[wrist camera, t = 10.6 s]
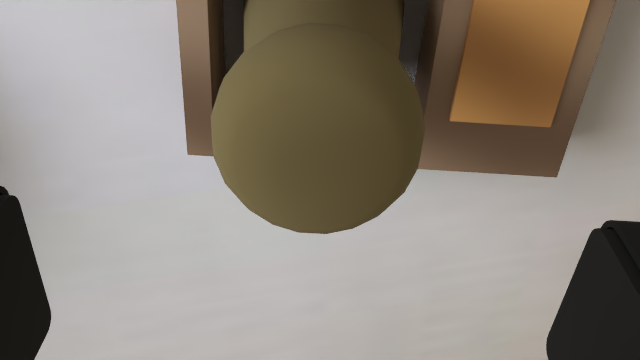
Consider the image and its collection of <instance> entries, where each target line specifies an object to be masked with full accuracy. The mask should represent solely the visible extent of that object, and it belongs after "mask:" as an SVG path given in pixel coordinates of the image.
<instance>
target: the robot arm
mask: <svg viewBox="0 0 640 360" xmlns="http://www.w3.org/2000/svg"><path fill="white" fill-rule="evenodd" d="M50 322H51V311H50V307H49V303H48V300H47V296H46V293H45V289H44V286H43V282H42V279H41V275H40V272H39V268H38V265H37V261H36V258H35V255H34V251H33V248H32V244H31V241H30V237H29V234H28V230H27V227H26V223H25V220H24V216H23V213H22V210H21V206H20V203H19V200H18V199H17V198H16V196H13V195H9V193H8V191H7V190H6V189H5V188H4V187H2V186H0V360H34V359H35V357H36V355H37V353H38V351H39V349H40V347H41V345H42V343H43V341H44V339H45V337H46V335H47V333H48V330H49V327H50ZM546 350H547V356H548V359H549V360H640V222H632V221H614V220H610V221H606V222H605V223H604V224H603V225H602V227H601V228H597V229H594V230H593V231H592V232H591V234H590V236H589V238H588V240H587V243H586V245H585V248H584V250H583V252H582V255H581V257H580V260H579V262H578V264H577V267H576V269H575V272H574V274H573V277H572V279H571V281H570V284H569V286H568V289H567V291H566V293H565V296H564V298H563V301H562V303H561V305H560V308H559V310H558V313H557V315H556V318H555V320H554V322H553V325H552V327H551V330H550V332H549V334H548V337H547V344H546Z"/></svg>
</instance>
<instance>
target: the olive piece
mask: <svg viewBox="0 0 640 360" xmlns="http://www.w3.org/2000/svg"><path fill="white" fill-rule="evenodd" d="M403 13H404V0H244V52H243V53H242V55H241V56H240V57H239V58H238V60H237V61H236V62H235V64H234V65H233V66H232V67H231V69H230V70H229V71H228V73H227V74H226V75H225V77H224V78H223V81H222V83H221V86H220V88H219V91H218V95H217V98H216V101H215V104H214V107H213V111H212V114H211V131H212V147H213V154H214V159H215V161H216V163H217V166H218V168H219V170H220V173H221V175H222V177H223V179H224V182H225V184H226V185H227V186H228V187H229V188H230V189H231V190H232V192H233V193H234V194H235V195H236V196H237V197H238V198H239V199H240V201H241V202H242V203H243V204H244V205H245V206H246V207H247V208H248V209H249V210H250V211H252V212H254V213H255V214H257V215H258V216H260V217H262V218H263V219H265V220H266V221H268V222H270V223H271V224H273V225H276V226H280V227H283V228H286V229H289V230H292V231H296V232H301V233H320V234H328V233H333V232H338V231H343V230H348V229H353V228H355V227H357V226H359V225H361V224H363V223H365V222H367V221H369V220H371V219H373V218H375V217H377V216H378V215H380V214H381V213H382V212H383V211H385V210H386V209H387V208H388V207H389V206H390V205H391V204H392V203H393V202H394V201H395V200H397V199H398V198H399V197H400V196H401V195H402V194H403V193H404V192H405V190H406V188H407V187H408V185H409V183H410V181H411V179H412V178H413V176H414V174H415V172H416V170H417V169H418V166H419V161H420V157H421V151H422V145H423V139H424V133H425V123H424V118H423V113H422V108H421V103H420V98H419V95H418V92H417V88H416V86H415V85H414V83H413V81H412V80H411V78H410V77H409V75H408V73H407V72H406V70H405V68H404V67H403V65H402V63H401V62H400V60H399V53H400V43H401V33H402V23H403Z"/></svg>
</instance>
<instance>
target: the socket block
mask: <svg viewBox="0 0 640 360" xmlns="http://www.w3.org/2000/svg"><path fill="white" fill-rule="evenodd" d="M615 1H616V0H428V3H427V9H426V16H425V22H424V28H423V35H422V41H421V47H420V53H419V60H418V66H417V72H416V78H415V86H416V88H417V92H418V95H419V98H420V103H421V108H422V113H423V118H424V123H425V133H424V139H423V145H422V151H421V157H420V161H419V166H418V169H430V170H446V171H462V172H479V173H495V174H511V175H528V176H544V177H557V175H558V172H559V169H560V166H561V163H562V160H563V157H564V154H565V151H566V148H567V145H568V142H569V139H570V136H571V133H572V130H573V127H574V124H575V121H576V118H577V115H578V112H579V109H580V106H581V103H582V100H583V97H584V94H585V91H586V88H587V85H588V82H589V79H590V76H591V73H592V70H593V67H594V64H595V61H596V58H597V55H598V52H599V49H600V46H601V43H602V40H603V37H604V34H605V31H606V28H607V25H608V22H609V19H610V16H611V13H612V10H613V7H614V4H615ZM176 4H177V18H178V31H179V45H180V58H181V71H182V85H183V98H184V112H185V125H186V139H187V152H188V155H201V156H214V154H213V147H212V131H211V114H212V111H213V107H214V104H215V101H216V98H217V95H218V91H219V88H220V86H221V83H222V81H223V78H224V77H225V60H224V28H223V0H176Z"/></svg>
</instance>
